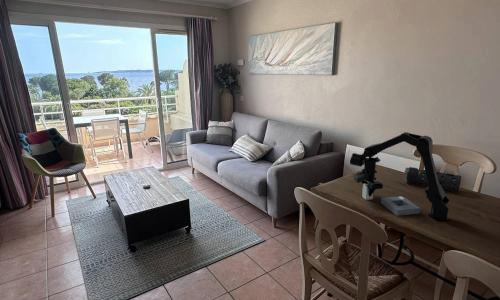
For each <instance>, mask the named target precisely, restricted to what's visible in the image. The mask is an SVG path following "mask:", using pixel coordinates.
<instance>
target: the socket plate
mask: <svg viewBox="0 0 500 300" xmlns="http://www.w3.org/2000/svg"><path fill="white" fill-rule="evenodd" d="M380 199H381V201H380V203H381V205H382V206H384V207H385V208H386V209H388V210H389V211H390V212H392V213H393V214H394V215H395V216H398V217H399V216H407V215H409V216H410V215H419V214H420V213H421V207H419V206H418V205H416V204H415V203H413V201H412V202H411V200H409V199H408V198H406V197H405V196H402V195H400V196H390V197H381V198H380Z"/></svg>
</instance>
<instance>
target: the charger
mask: <svg viewBox="0 0 500 300" xmlns="http://www.w3.org/2000/svg"><path fill="white" fill-rule="evenodd" d="M366 185H369V183H365V184H362V193H361V194H362V195H361V196H362V198H363V199H364V200H366V201H368V200H373V199H374V193H373V194H372V195H371V196H369V195H368V187H367V186H366Z"/></svg>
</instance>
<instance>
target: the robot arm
mask: <svg viewBox="0 0 500 300" xmlns="http://www.w3.org/2000/svg"><path fill="white" fill-rule="evenodd" d="M403 142H404V143H406V144H409V145H411V146H412V147H415V148H416V150H417V152H418V153H419V155H420V157H421V160H422V164H423V167H424V170H425V172H426V176H427V181H428V186H427V187H426V188H425V189H424V192H425V195H426V197H425V198H426V199H428V201H429V203H431V209H430V213H427V215H428V216H429V217H430V218H432V219H433V220H435V221H436V222H442V221H443V222H444V221H450V218H449V217H448V212H449V207H448V205H449V204H450V202H451V200H450V199H449V197H448V196H447V195H446V192H445V190H443V188H442V186H441V185H440V184H439V181H438V177H437V173H436V172H437V169H436V165H435V161H434V158H433V149H434V148H433V147H434V146H433V139H432V137H430V136H428V135H419V134H416V133H411V132H410V133H409V132H408V131H404V132H402V133H401V134H398V135H397V136H394V137H392V138H390V139H387V140H385V141H383V142H379V143H375V144H371V145H369V146H366V147H365V148H364V150H363V152H362V153H361V154H360V153H356V152H353V153H352V154H351V157H350V159H349V164H350V165H351V166H355V167H356V166H357V167H363V166H364V167H363V168H362V169H361V171H360V172H356V173H355V174H353V175H352V178H353V180H354V182H356V183H357V184H360V183H361V184H362V185H363V184H365V183H369V185H366V186H367V187H368V195H369V196H371V195H372V194H373V195H374V192H375V191H376V190H382V189H384V184H383V183H382V182H380V181H379V180H378V181H376V180H377V177H375V176H376V174H377V172H378V170H376V168H377V167H376V166H377V163H379V162H381V158H379V157H378V156H376V155H378V154H380V153H381V152H382V151H384V150H386V149H388V148H391V147H393V146H396V145H398V144H402V143H403Z"/></svg>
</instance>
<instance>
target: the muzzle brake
mask: <svg viewBox="0 0 500 300" xmlns="http://www.w3.org/2000/svg"><path fill="white" fill-rule="evenodd" d="M436 173H437V177H438V181H439V184H440V185H441V186H442V188H443V190H444V191H449V192H453V193H458V192H460V188H461V183H462V175H459V174H453V173H447V172H440V171H436ZM403 181H406V182H408V183H410V184H411V183H412V184H415V185H417V186H427V187H428V181H427V176H426V172H425V169H422V168H421V169H419V168H417V167H413V166H409V167H405V169H404V172H403Z"/></svg>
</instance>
